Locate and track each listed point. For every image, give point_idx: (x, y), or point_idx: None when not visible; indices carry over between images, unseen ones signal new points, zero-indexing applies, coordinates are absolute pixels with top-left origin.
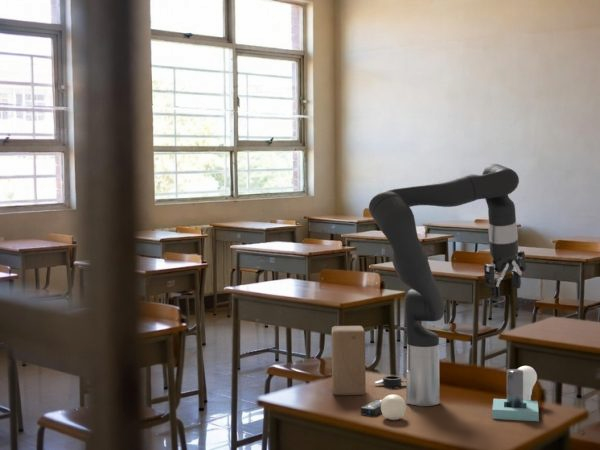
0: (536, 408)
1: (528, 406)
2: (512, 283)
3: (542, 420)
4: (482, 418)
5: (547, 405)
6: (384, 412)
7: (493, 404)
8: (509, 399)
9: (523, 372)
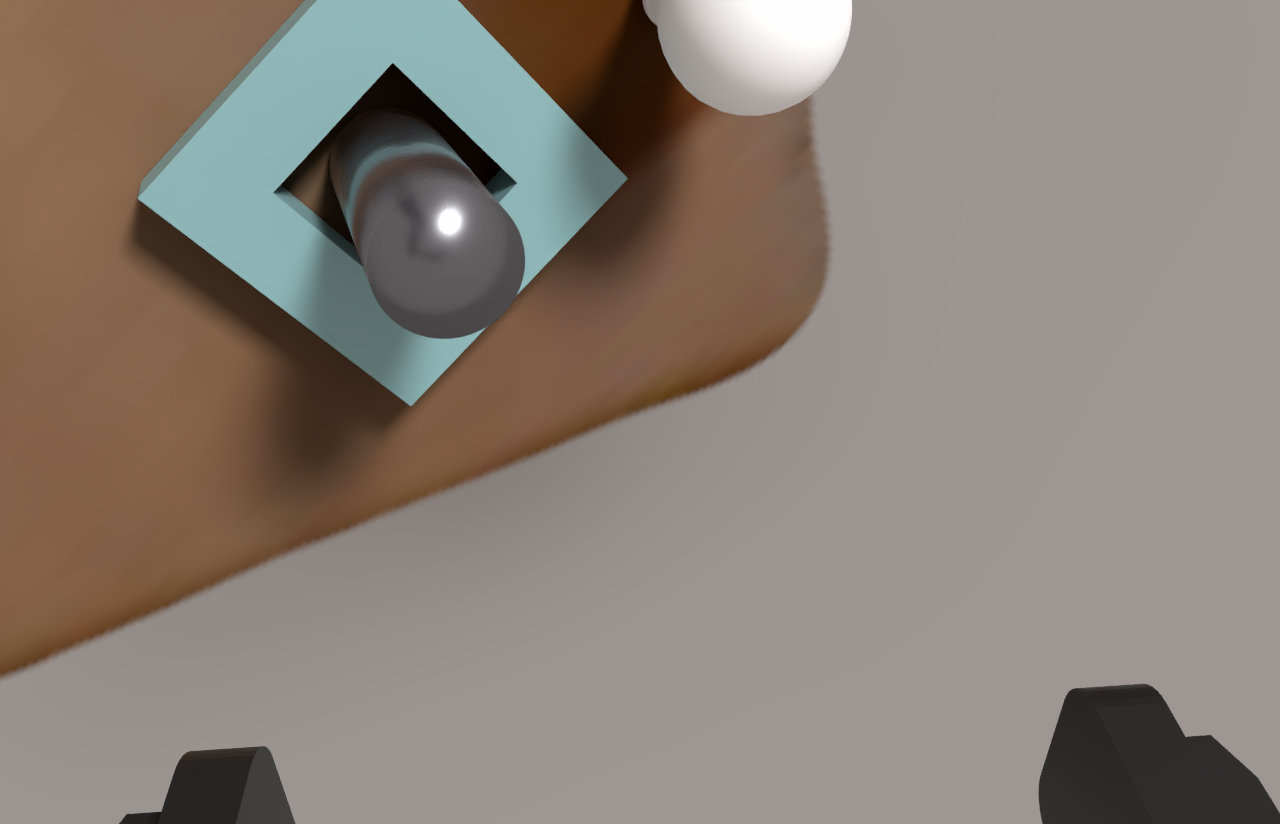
0: None
1: None
2: (1122, 760)
3: None
4: (69, 132)
5: None
6: None
7: (250, 81)
8: (341, 202)
9: (705, 63)
